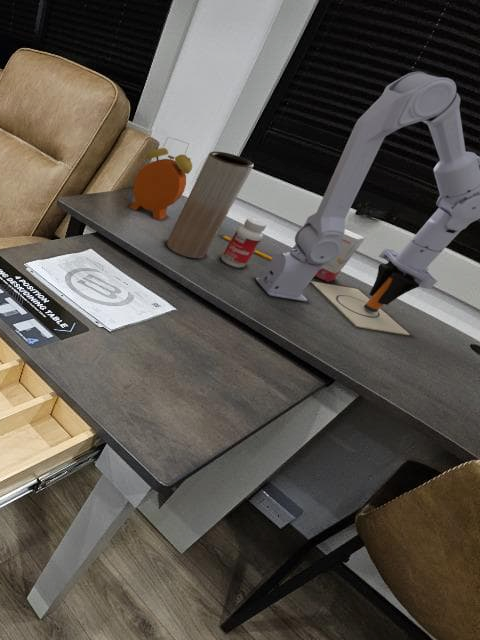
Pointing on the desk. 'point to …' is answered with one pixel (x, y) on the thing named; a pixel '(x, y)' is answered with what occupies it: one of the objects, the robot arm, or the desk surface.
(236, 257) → the pill bottle
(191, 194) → the planter
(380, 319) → the paper
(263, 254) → the pencil
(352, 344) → the desk surface
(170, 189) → the alarm clock
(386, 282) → the marker
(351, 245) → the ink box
